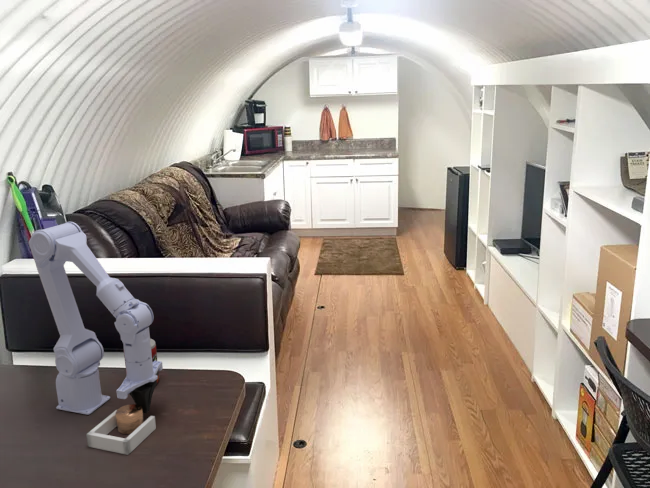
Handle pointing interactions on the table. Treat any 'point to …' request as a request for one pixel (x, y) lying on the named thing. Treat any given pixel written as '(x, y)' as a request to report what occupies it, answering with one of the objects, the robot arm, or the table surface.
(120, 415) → the tan short cylinder
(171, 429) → the table surface
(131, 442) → the u-shaped bracket
